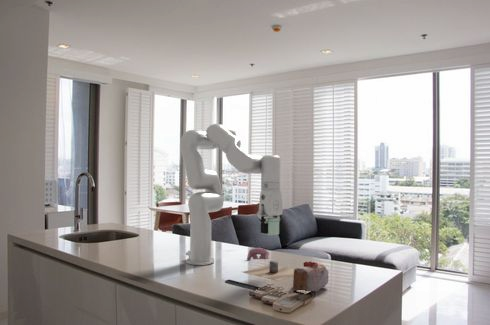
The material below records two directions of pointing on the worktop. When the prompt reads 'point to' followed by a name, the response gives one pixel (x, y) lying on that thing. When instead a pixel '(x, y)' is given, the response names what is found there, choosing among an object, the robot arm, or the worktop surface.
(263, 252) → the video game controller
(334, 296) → the worktop surface
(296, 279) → the food item
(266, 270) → the post stand
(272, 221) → the cap
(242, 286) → the mat
